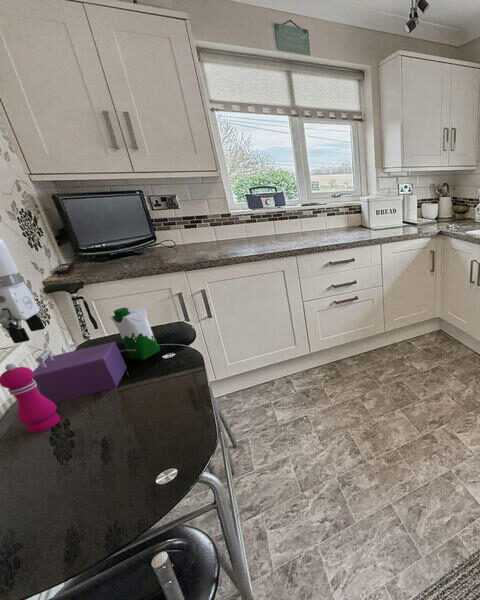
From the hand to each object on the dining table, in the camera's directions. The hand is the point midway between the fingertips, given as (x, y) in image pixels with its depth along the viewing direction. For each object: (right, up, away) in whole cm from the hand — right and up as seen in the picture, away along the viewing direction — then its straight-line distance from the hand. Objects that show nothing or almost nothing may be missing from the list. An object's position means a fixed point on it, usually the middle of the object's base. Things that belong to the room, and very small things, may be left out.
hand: (30, 335), depth 99 cm
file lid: (+7, -9, +7) cm, 13 cm away
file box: (+8, -18, +11) cm, 22 cm away
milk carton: (+13, -11, +29) cm, 33 cm away
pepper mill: (+12, -25, -7) cm, 28 cm away
